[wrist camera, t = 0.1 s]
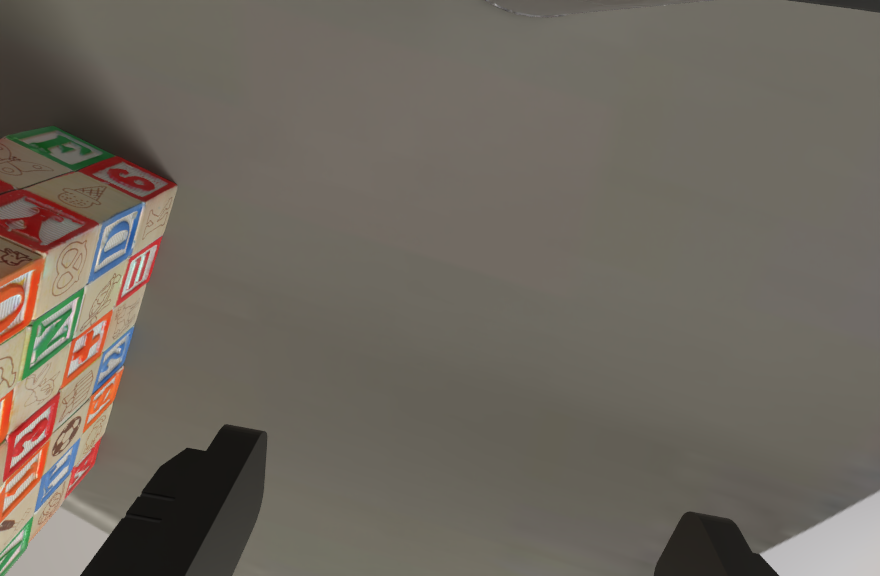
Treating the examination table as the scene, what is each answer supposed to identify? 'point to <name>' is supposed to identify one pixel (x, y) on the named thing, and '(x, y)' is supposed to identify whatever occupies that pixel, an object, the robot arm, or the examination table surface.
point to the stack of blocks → (65, 311)
